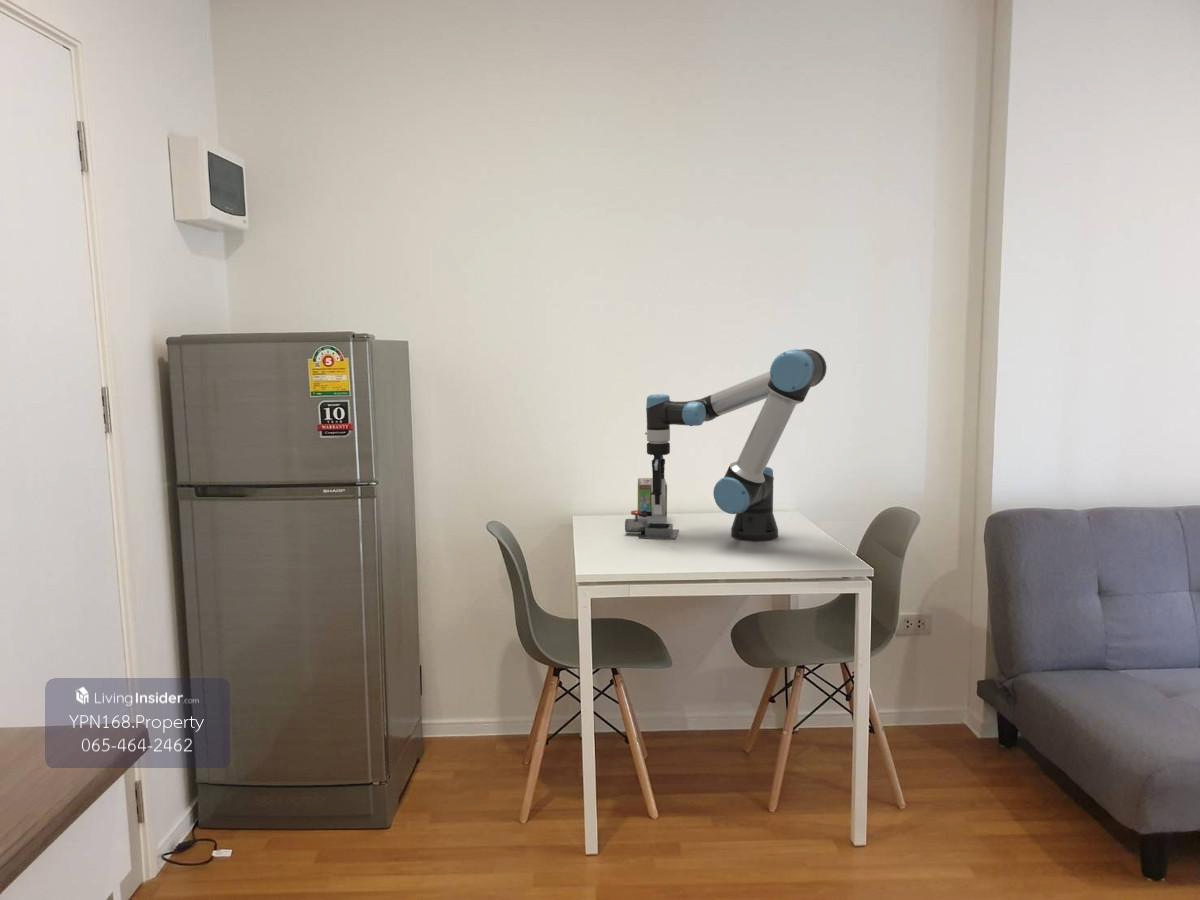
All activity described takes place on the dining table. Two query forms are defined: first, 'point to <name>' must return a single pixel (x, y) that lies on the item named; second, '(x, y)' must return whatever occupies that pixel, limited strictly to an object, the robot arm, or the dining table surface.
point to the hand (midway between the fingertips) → (658, 512)
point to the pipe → (662, 499)
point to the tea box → (648, 501)
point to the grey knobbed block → (650, 528)
